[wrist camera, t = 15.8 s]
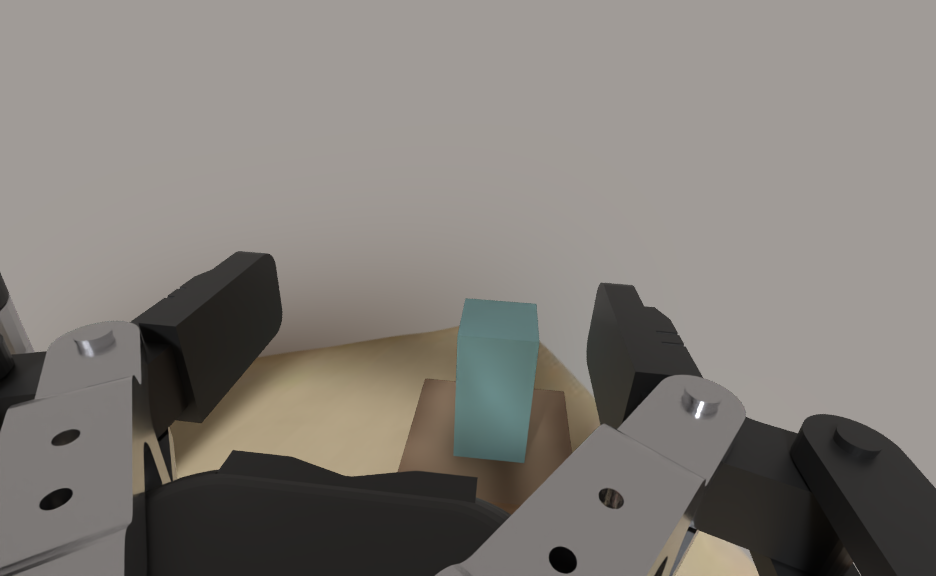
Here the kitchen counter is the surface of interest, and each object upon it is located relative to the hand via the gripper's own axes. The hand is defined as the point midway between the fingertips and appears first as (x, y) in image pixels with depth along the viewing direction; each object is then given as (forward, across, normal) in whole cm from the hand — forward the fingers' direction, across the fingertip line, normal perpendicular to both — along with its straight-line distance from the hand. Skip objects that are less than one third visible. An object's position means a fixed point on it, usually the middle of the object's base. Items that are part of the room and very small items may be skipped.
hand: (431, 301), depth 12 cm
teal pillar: (+17, -2, +20) cm, 26 cm away
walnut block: (+17, -2, +25) cm, 30 cm away
